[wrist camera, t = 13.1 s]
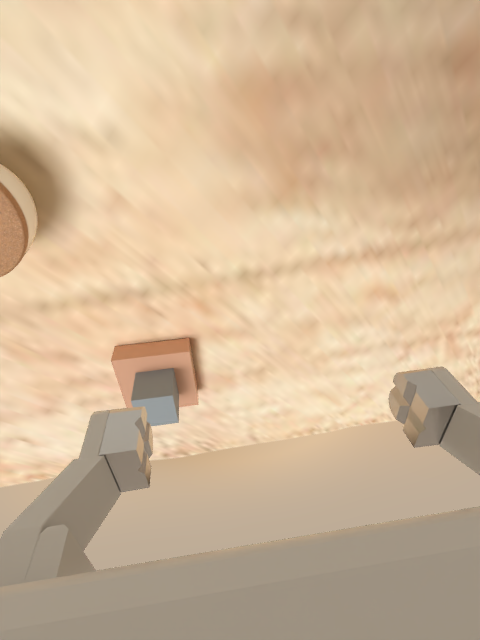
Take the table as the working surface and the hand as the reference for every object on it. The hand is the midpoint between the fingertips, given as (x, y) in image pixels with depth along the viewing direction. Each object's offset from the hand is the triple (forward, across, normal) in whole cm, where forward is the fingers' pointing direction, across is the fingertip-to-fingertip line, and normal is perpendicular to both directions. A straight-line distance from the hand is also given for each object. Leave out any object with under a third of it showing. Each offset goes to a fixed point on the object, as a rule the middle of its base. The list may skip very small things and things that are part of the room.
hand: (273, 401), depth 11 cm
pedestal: (+31, +10, +25) cm, 41 cm away
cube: (+28, +10, +25) cm, 39 cm away
